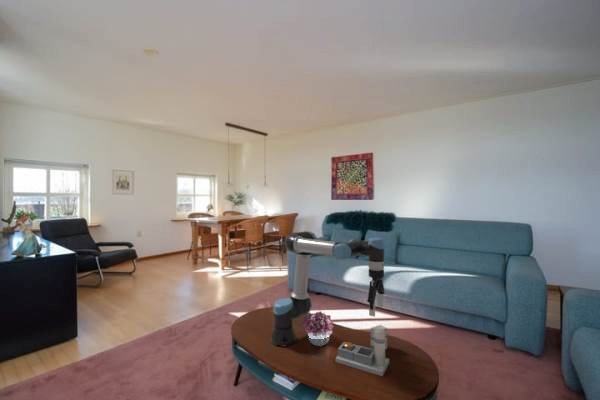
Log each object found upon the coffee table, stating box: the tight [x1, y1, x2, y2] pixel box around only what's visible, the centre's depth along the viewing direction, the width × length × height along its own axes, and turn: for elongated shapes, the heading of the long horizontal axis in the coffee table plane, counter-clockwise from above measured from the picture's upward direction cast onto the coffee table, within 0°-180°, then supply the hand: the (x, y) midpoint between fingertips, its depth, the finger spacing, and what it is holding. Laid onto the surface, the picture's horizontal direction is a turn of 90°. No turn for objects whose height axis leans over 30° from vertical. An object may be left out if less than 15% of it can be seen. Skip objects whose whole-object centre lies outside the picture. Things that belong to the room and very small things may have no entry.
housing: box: [335, 341, 390, 377], centre depth 146 cm, size 24×13×6 cm, turn 59°
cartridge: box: [374, 329, 386, 366], centre depth 142 cm, size 5×5×16 cm
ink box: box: [370, 324, 388, 350], centre depth 160 cm, size 9×5×12 cm, turn 123°
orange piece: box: [344, 341, 354, 351], centre depth 150 cm, size 5×5×5 cm
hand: (376, 311), depth 144 cm, fingers open, 13 cm apart
